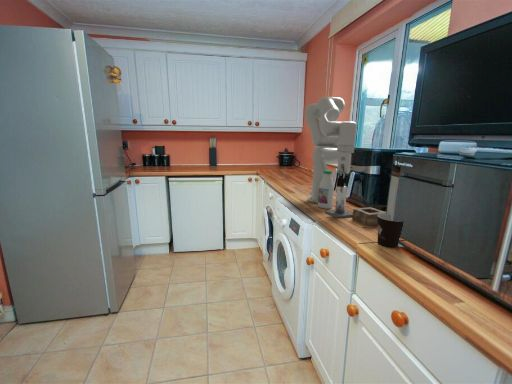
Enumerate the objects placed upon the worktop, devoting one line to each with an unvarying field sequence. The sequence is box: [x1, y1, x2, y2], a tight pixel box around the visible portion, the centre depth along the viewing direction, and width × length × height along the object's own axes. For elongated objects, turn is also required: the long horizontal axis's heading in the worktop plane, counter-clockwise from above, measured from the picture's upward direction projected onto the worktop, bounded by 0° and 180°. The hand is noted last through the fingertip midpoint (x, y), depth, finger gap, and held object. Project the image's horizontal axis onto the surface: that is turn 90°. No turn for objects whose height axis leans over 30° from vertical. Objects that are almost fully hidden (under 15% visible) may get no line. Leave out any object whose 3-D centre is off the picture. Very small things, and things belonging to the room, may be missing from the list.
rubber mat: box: [324, 209, 353, 219], centre depth 127 cm, size 10×10×1 cm
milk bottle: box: [317, 169, 335, 210], centre depth 138 cm, size 8×8×20 cm
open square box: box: [351, 206, 387, 227], centre depth 117 cm, size 10×10×5 cm
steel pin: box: [334, 185, 348, 214], centre depth 126 cm, size 4×4×13 cm
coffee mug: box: [377, 213, 404, 249], centre depth 92 cm, size 12×9×10 cm
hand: (341, 184), depth 125 cm, fingers open, 9 cm apart
